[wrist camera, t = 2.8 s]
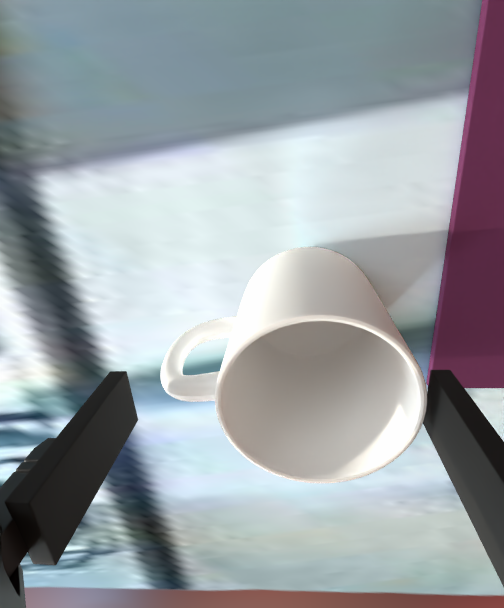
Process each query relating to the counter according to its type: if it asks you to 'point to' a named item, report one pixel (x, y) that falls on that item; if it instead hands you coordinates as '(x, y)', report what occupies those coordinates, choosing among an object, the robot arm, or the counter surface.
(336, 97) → the counter surface
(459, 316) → the mat
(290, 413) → the cup
